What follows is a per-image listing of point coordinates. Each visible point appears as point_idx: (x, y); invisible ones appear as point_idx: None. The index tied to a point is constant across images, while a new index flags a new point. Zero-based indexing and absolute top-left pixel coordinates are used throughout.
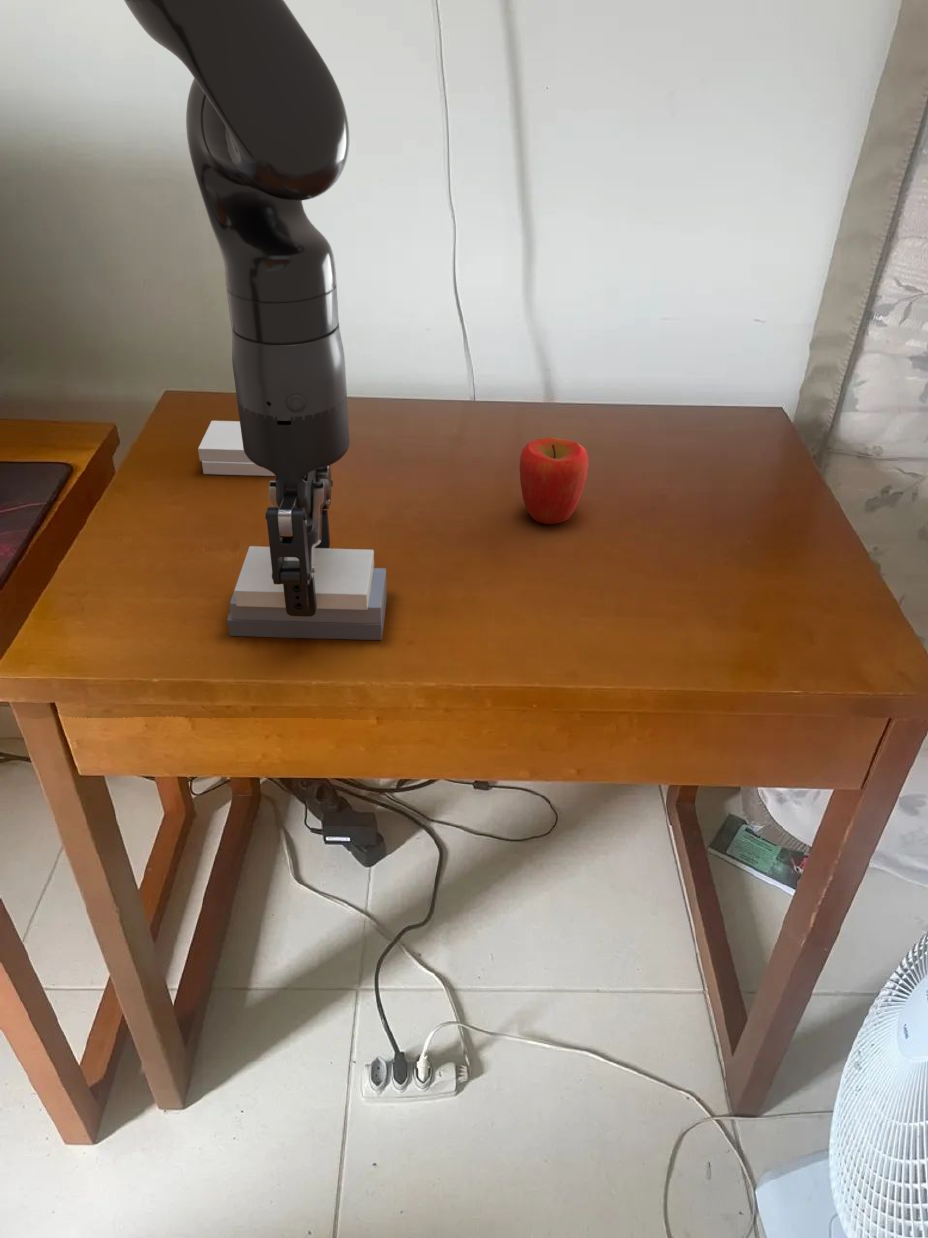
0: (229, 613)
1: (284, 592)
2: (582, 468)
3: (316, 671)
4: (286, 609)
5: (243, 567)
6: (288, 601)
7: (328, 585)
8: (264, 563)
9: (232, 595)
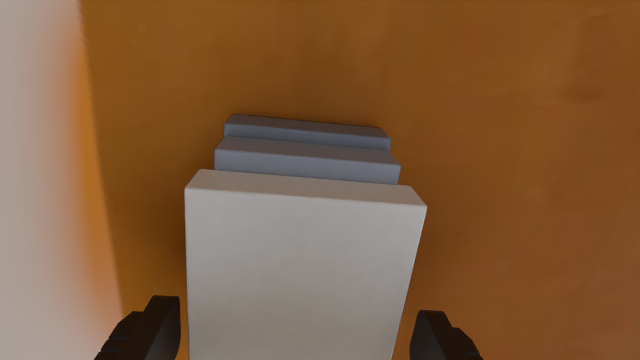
0: (252, 126)
1: (126, 343)
2: None
3: (134, 278)
4: (148, 303)
5: (310, 201)
6: (104, 344)
7: None
8: (327, 255)
9: (252, 152)
